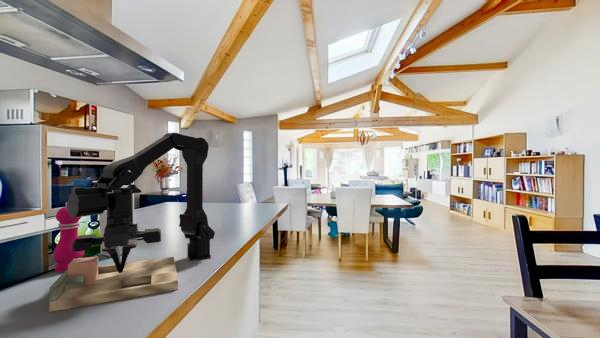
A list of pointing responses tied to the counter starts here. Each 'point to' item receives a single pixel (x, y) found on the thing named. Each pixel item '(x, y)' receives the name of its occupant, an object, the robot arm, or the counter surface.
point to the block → (84, 268)
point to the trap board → (114, 284)
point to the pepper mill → (66, 240)
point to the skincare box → (102, 227)
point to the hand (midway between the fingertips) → (120, 272)
